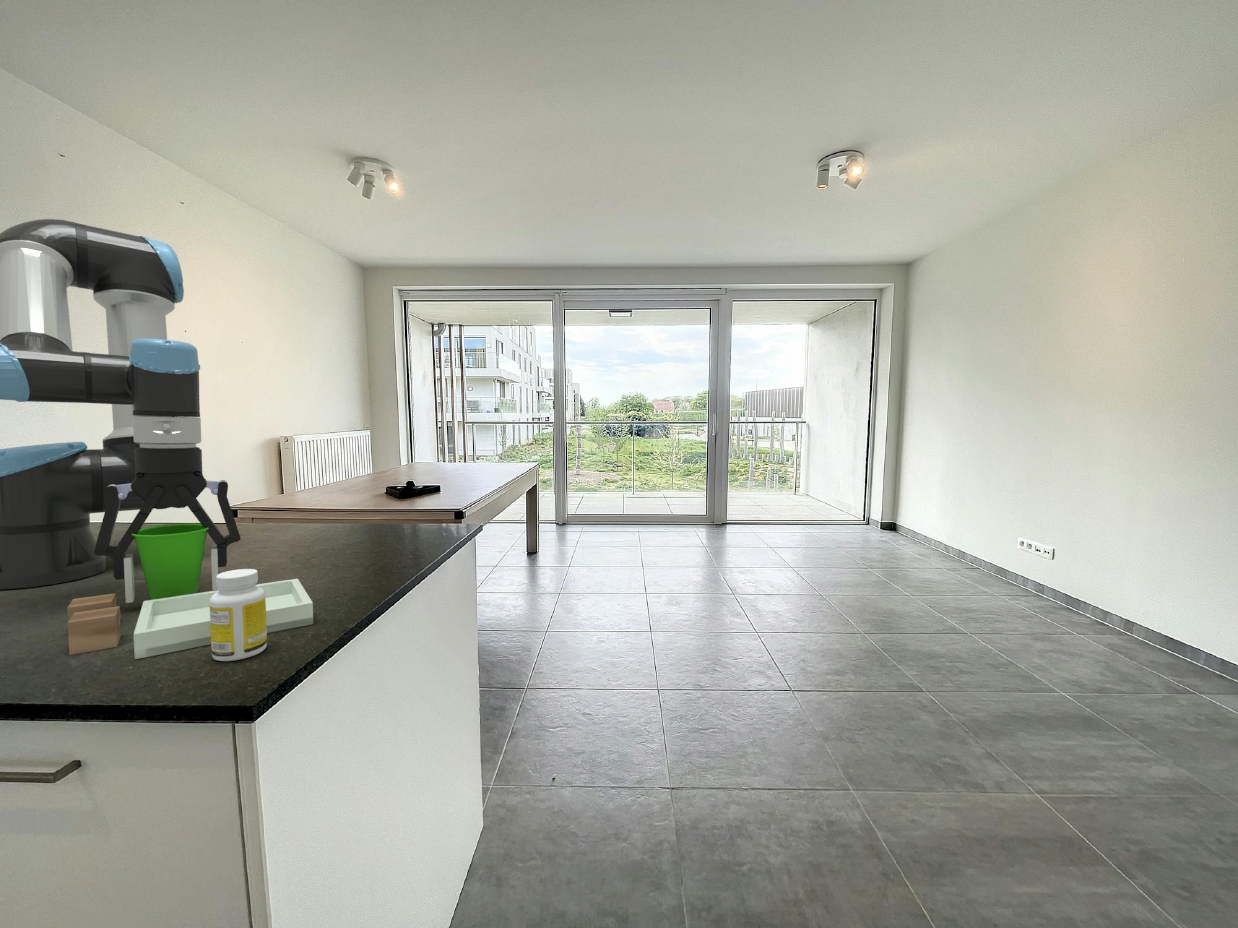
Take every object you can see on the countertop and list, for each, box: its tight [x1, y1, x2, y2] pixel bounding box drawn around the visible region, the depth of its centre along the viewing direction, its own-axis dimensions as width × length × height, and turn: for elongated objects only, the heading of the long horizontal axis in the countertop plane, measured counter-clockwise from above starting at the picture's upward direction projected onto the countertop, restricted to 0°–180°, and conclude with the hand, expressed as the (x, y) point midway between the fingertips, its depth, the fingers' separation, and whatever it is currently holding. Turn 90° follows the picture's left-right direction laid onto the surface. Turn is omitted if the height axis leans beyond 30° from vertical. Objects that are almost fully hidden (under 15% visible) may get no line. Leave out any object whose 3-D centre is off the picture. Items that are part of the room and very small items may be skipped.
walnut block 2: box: [67, 605, 122, 656], centre depth 62 cm, size 4×4×4 cm
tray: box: [133, 578, 314, 660], centre depth 70 cm, size 14×18×3 cm
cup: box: [132, 522, 209, 600], centre depth 77 cm, size 9×9×11 cm
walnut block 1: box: [66, 592, 117, 623], centre depth 67 cm, size 4×4×4 cm
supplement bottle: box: [210, 568, 268, 662], centre depth 61 cm, size 5×5×10 cm
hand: (174, 593), depth 77 cm, fingers closed on cup, 9 cm apart
